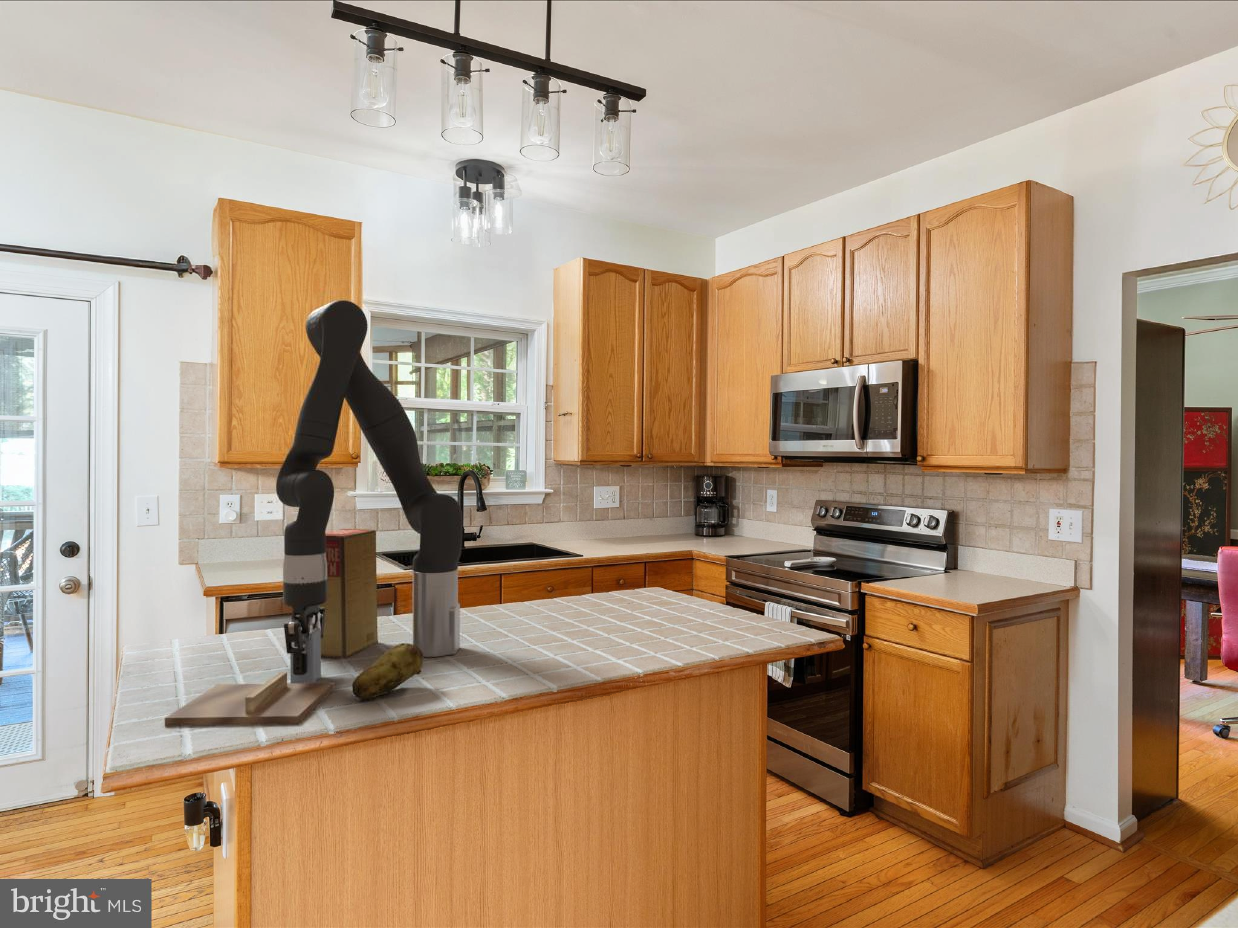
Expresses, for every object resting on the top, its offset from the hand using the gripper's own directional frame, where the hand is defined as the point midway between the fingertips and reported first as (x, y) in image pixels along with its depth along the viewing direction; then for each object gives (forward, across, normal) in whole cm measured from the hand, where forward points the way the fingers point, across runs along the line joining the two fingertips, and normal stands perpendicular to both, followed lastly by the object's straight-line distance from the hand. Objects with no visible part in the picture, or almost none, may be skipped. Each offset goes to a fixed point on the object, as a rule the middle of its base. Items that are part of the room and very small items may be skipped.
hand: (305, 669), depth 134 cm
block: (+2, 0, 0) cm, 2 cm away
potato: (+2, -8, -17) cm, 19 cm away
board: (+2, -14, +3) cm, 14 cm away
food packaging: (+2, +21, 0) cm, 21 cm away
